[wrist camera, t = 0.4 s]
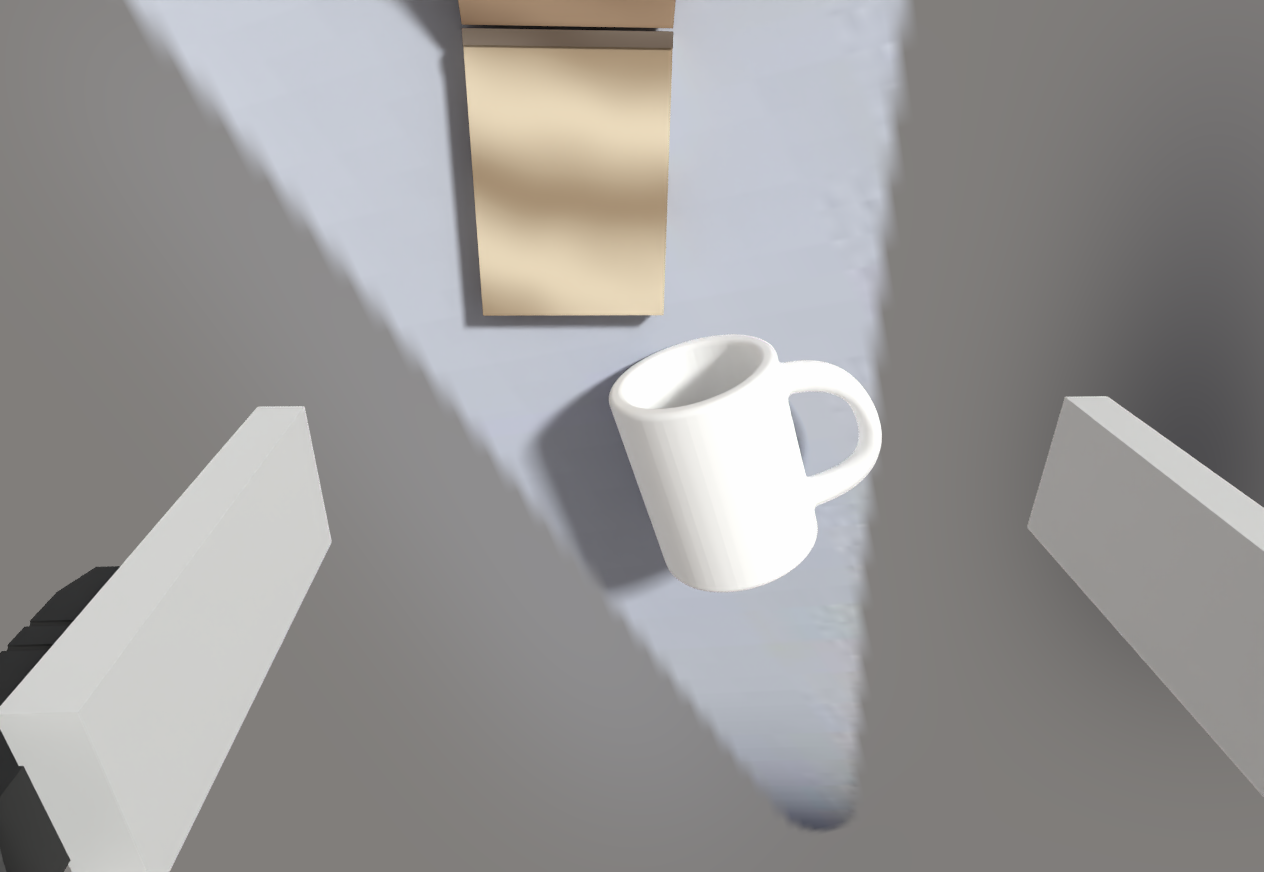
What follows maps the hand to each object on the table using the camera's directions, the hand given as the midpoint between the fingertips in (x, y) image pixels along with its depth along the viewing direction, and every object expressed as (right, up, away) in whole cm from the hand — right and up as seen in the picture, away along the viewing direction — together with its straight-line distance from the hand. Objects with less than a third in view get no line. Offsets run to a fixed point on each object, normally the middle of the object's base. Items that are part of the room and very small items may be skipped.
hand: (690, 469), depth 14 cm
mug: (+5, +2, +28) cm, 28 cm away
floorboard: (-4, +12, +22) cm, 25 cm away
